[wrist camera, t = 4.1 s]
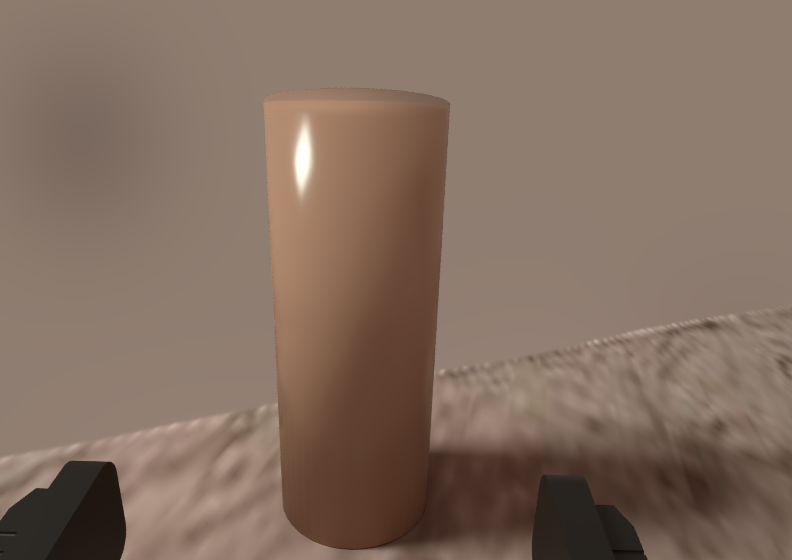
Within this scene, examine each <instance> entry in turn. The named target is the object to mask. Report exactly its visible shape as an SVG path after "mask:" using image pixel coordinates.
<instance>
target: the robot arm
mask: <svg viewBox="0 0 792 560" xmlns="http://www.w3.org/2000/svg"><path fill="white" fill-rule="evenodd" d="M125 539H126V522H125V516H124V510H123V505H122V499H121V493H120V487H119V482H118V476H117V471H116V467H115V465H114V464H113V463H112V462H100V461H69V462H68V463H66V464H65V466H64V467H63V468H62V470H61V471H60V472H59V474H58V475H57V477H56V478H55V480H54V481H53V482H52V484H51V485H50V487H49V488H48V489H44V488H36V489H35V490H33V491H32V492H31V493H29V494H28V495H27V496H25V497H24V498H23V499H21V500H20V501H19V502H17V503H16V504H14V505H13V506H12V507H10V508H9V510H8V511H7V512H6V514H5V515H4V516H3V518H2V519H1V520H0V560H120V559H121V556H122V553H123V550H124V545H125ZM532 560H648V559H647V557H646V555H644V550H643V548H642V545H641V543H640V541H639V538H638V536H637V534H636V531H635V529H634V527H633V526H632V525H631V523H630V522H629V521H628V520H627V519H626V518H625V517H624V516H623V515H622V514H621V513H620V512H619V511H618V510H617V509H616V508H615V507H614V506H611V505H595V504H594V501H593V498H592V495H591V493H590V490H589V487H588V485H587V482H586V480H585V478H584V477H583V476H560V475H543V476H542V478H541V481H540V487H539V494H538V501H537V508H536V515H535V522H534V529H533V537H532Z"/></svg>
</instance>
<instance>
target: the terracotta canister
mask: <svg viewBox="0 0 792 560" xmlns="http://www.w3.org/2000/svg"><path fill="white" fill-rule="evenodd" d="M449 113H450V103H449V102H448V101H446V100H444V99H441V98H439V97H435V96H431V95H426V94H421V93H414V92H407V91H397V90H386V89H367V88H320V89H305V90H296V91H287V92H282V93H277V94H273V95H270V96H268V97H266V98H265V99H264V116H265V137H266V158H267V178H268V179H267V180H268V201H269V222H270V242H271V265H272V285H273V307H274V328H275V349H276V368H277V369H276V370H277V390H278V391H277V392H278V413H279V434H280V455H281V476H282V497H283V508H284V512H285V514H286V516H287V518H288V520H289V521H290V523H291V524H292V525H293V526H294V528H295V529H296V530H297V531H299V532H300V533H301V534H303V535H304V536H306V537H307V538H309V539H311V540H313V541H315V542H318V543H320V544H323V545H327V546H330V547H336V548H343V549H363V548H371V547H375V546H380V545H383V544H386V543H389V542H391V541H393V540H395V539H398V538H399V537H401V536H402V535H404V534H406V533H407V532H408V531H409V530H411V529H412V528H413V527H414V526H415V525H416V523H417V522H418V521H419V519H420V518H421V516H422V514H423V512H424V510H425V506H426V496H427V480H428V463H429V446H430V430H431V413H432V396H433V380H434V362H435V345H436V330H437V313H438V296H439V280H440V263H441V246H442V229H443V213H444V196H445V179H446V163H447V146H448V129H449Z"/></svg>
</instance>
